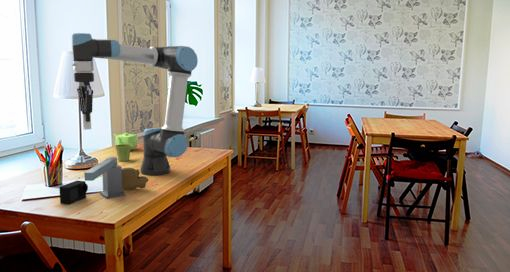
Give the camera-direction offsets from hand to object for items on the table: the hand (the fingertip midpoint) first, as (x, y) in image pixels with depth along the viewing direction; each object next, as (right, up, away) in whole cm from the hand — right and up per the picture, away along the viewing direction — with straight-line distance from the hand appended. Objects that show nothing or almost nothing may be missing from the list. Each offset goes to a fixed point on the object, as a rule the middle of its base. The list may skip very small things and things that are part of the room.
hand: (87, 129), depth 178 cm
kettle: (-14, -12, +97) cm, 99 cm away
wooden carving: (+14, -27, +12) cm, 33 cm away
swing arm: (+10, -17, -10) cm, 22 cm away
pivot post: (+9, -28, +3) cm, 30 cm away
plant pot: (-6, -17, +68) cm, 70 cm away
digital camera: (-3, -29, -5) cm, 30 cm away
